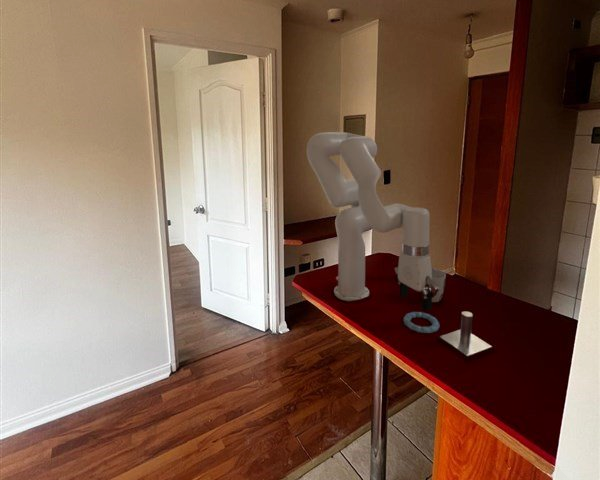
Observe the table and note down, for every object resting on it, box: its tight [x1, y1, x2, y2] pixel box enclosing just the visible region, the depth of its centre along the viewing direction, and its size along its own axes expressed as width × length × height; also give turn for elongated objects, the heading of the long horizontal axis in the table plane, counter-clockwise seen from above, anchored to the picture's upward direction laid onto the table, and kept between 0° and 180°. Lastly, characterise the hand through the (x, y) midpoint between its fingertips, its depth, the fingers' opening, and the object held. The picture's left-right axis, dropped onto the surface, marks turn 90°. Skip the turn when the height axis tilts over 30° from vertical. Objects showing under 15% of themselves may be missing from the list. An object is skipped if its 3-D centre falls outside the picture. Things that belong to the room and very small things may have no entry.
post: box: [439, 311, 493, 358], centre depth 87 cm, size 9×9×9 cm
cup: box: [422, 268, 447, 303], centre depth 110 cm, size 8×8×10 cm
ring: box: [402, 311, 441, 334], centre depth 97 cm, size 10×10×2 cm
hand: (414, 303), depth 99 cm, fingers open, 9 cm apart
